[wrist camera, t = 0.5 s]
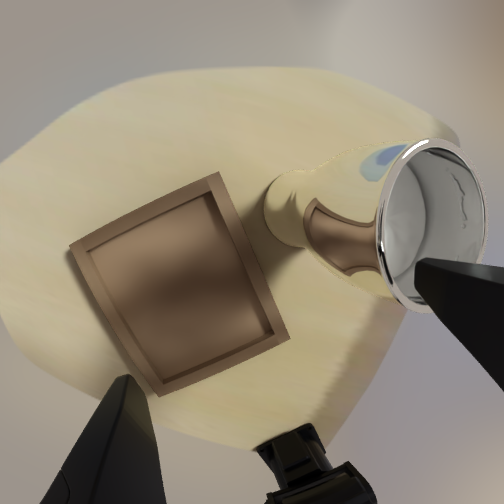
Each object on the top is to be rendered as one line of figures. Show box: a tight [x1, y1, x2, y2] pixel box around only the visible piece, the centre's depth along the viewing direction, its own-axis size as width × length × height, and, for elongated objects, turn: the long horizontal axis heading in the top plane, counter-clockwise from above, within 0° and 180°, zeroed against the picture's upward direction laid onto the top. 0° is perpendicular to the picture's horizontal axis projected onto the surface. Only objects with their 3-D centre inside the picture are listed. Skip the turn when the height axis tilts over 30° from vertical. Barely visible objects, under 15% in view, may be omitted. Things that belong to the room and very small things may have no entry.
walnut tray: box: [69, 171, 290, 397], centre depth 22 cm, size 14×12×2 cm
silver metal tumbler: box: [264, 138, 488, 314], centre depth 17 cm, size 7×7×15 cm
